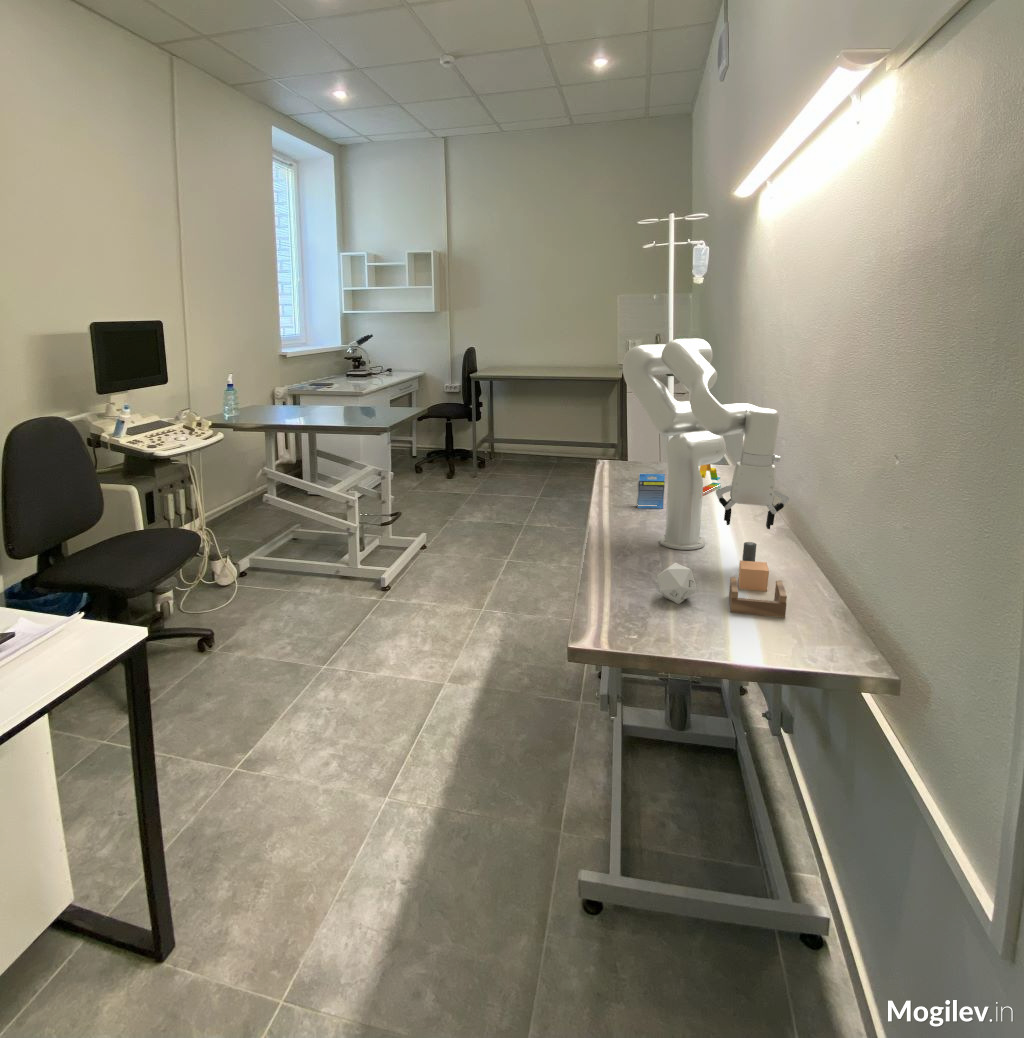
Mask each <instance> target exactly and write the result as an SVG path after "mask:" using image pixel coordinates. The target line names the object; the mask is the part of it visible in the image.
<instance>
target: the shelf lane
mask: <svg viewBox="0 0 1024 1038" xmlns="http://www.w3.org/2000/svg"><path fill="white" fill-rule="evenodd" d="M774 588H775V589H774V598H773V600H766V599H765V600H764V599H757V598H756V599H755V598H744V597H739V587H738V579H737V577H735V576H730V579H729V589H728V590H729V592H728V598H729V607H730V608H729V610H730V613H732V614H743V615H751V616H752V615H755V616H764V617H765V616H766V617H773V618H774V617H776V618H786V610H787V598H788V597H787V593H786V590H785V587H784V583H783V581H782V580H775V587H774Z"/></svg>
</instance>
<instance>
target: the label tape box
mask: <svg viewBox="0 0 1024 1038" xmlns="http://www.w3.org/2000/svg"><path fill="white" fill-rule="evenodd" d="M665 475H666V474H665V473H639V474H638V482H637V485H636V486H637V487H636V488H637V490H636V492H637V493H636V507H637V509H664V502H665V501H664V500H665V488H666V487H665V485H666V480H665V478H666V476H665ZM651 477H652V478H651ZM637 504H638V505H657V506H638V505H637Z"/></svg>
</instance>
